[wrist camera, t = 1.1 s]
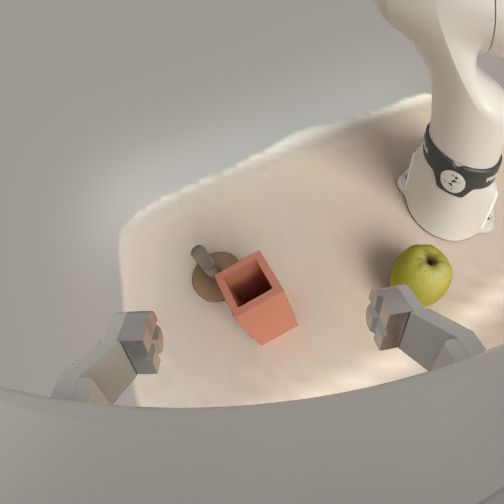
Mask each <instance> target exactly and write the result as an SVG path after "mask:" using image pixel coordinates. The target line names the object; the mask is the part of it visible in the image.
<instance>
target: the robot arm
mask: <svg viewBox="0 0 504 504" xmlns="http://www.w3.org/2000/svg"><path fill="white" fill-rule="evenodd" d="M372 1H373V3H374V5H375V7H376V8H377V10H378V11H379V13H380V14H381V15H382V17H383V18H384V19H385V20H386V21H387V22H388V23H389V24H390V25H392V26H393V27H394V28H396V29H397V30H398V31H400V32H401V33H402V34H403V35H404V36H405V37H406V38H407V39H409V40H410V42H411V43H412V44H413V45H414V46H415V48H416V49H417V50H418V52H419V53H420V55H421V56H422V58H423V60H424V62H425V64H426V66H427V69H428V71H429V75H430V79H431V85H432V108H431V118H430V122H429V124H428V125H427V128H426V131H425V134H424V139H423V140H422V141H421V143H420V147H417V148H416V149H415V152H414V153H413V155H412V158H411V163H410V167H409V168H408V169H407V170H406V171H405V172H404V173H403V174H402V175H401V176H400V177H399V178H398V181H397V186H398V188H399V189H400V191H401V192H402V193H403V194H404V196H405V198H406V202H407V206H408V209H409V211H410V213H411V215H412V216H413V218H414V219H415V221H416V222H417V223H418V224H419V225H420V226H421V227H422V228H423V229H425V230H426V231H427V232H429V233H431V234H432V235H434V236H436V237H439V238H442V239H445V240H452V241H459V240H464V239H467V238H469V237H471V236H473V235H475V234H477V233H488V232H491V230H492V228H493V225H494V203H495V201H496V198H497V195H498V192H497V185H496V179H495V178H496V175H497V174H498V172H499V169H500V165H501V161H502V151H503V148H504V90H503V89H502V87H501V86H500V85H499V84H498V83H497V82H496V81H495V80H494V79H493V78H492V77H491V76H489V75H488V74H487V73H486V72H485V71H484V70H483V69H482V68H481V67H480V66H479V65H478V64H477V63H476V60H477V55H478V54H480V53H483V54H489V55H492V56H495V57H497V58H500V59H503V60H504V0H372ZM406 179H407V180H406ZM487 219H488V220H487ZM369 300H370V301H371V303H370V304H369V306H368V307H367V310H366V321H367V325H368V328H369V330H370V331H372V332H373V333H375V335H374V340H375V342H376V345H377V347H378V349H379V351H380V350H386V349H391V348H396V347H399V349H401V350H402V351H403V352H404V353H406V354H407V355H408V356H410V357H411V358H412V359H413V360H415V361H416V362H417V363H419V364H420V365H421V366H422V367H424V368H425V369H426V370H428V372H425V373H421V374H418V375H415V376H411V377H407V378H404V379H400V380H396V381H392V382H388V383H384V384H380V385H376V386H372V387H367V388H363V389H358V390H353V391H348V392H343V393H338V394H332V395H326V396H320V397H314V398H307V399H300V400H293V401H285V402H276V403H267V404H256V405H244V406H228V407H203V408H159V407H135V406H120V405H113V403H114V402H115V401H116V400H117V399H118V397H119V396H120V395H121V394H122V392H123V391H124V390H125V389H126V388H127V387H128V386H129V384H130V383H131V382H132V381H133V380H134V379H135V377H136V376H137V374H158V370H159V365H160V358H159V356H158V355H159V354H160V353H161V352H162V349H163V335H162V331H161V328H160V327H159V326H157V325H156V322H157V317H156V315H155V312H153V311H138V312H117V313H116V314H115V315H114V318H113V320H112V323H111V325H110V327H109V330H108V332H107V335H106V338H105V340H104V341H101V342H99V343H98V344H97V345H95V346H94V347H93V348H92V349H91V350H89V351H88V352H87V353H86V354H84V355H83V356H82V357H81V358H79V359H78V360H77V361H76V362H75V363H73V364H72V365H71V366H70V367H68V368H67V369H66V370H65V371H63V372H62V373H61V374H60V376H59V379H58V381H57V383H56V386H55V388H54V391H53V393H52V396H51V397H47V396H42V395H36V394H31V393H26V392H22V391H17V390H13V389H9V388H4V387H1V386H0V504H504V344H502V345H500V346H497V347H495V348H492V349H490V350H488V351H486V349H485V348H484V346H483V345H482V343H481V342H480V341H479V339H478V338H477V336H476V335H475V333H474V332H473V331H471V330H469V329H467V328H465V327H463V326H461V325H460V324H458V323H456V322H454V321H452V320H450V319H448V318H446V317H444V316H442V315H440V314H438V313H436V312H434V311H432V310H430V309H428V308H427V309H425V308H424V307H423V305H422V304H421V302H420V301H419V300H418V298H417V297H416V296H415V294H414V293H413V291H412V290H411V289H410V287H409V286H408V285H407V284H402V285H396V286H392V287H386V288H380V289H373V290H371V292H370V295H369Z"/></svg>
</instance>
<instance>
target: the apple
mask: <svg viewBox="0 0 504 504" xmlns="http://www.w3.org/2000/svg"><path fill="white" fill-rule="evenodd" d="M451 279H452V269H451V266H450V264H449V262H448V260H447V259H446V257H445V256H444V255H443V254H442V252H440V251H439V250H438V249H437V248H435V247H434V246H432V245H413V246H411V247H409V248H408V249H407V250H405V251H404V252H403V253H402V254H401V255H400V256H399V258H398V259H397V261H396V262H395V264H394V266H393V268H392V271H391V275H390V287H392V286H396V285H402V284H407V285H408V286H409V287H410V289H411V290H412V291H413V293H414V294H415V296H416V297H417V298H418V300H419V301H420V302H421V304H422V305H423V307H427V306H429V305H432V304H433V303H435V302H436V301H438V300H439V299H440V298H441V297H442V296H443V295H444V294H445V293H446V291H447V290H448V288H449V286H450V283H451Z"/></svg>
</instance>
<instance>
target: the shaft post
mask: <svg viewBox="0 0 504 504" xmlns="http://www.w3.org/2000/svg"><path fill="white" fill-rule="evenodd" d="M191 255H192V257H193V258H194V259H195V260H196V262H197V263H198V264H197V266H196V268H195V270H194V272H193V276H192V283H193V287H194V289H195V291H196V292H197V293H198V294H199V295H200V296H201V297H202V298H203V299H205V300H207V301H211V302H219V301H223V300H225V298H224V295H223V293H222V291H221V289H220V287H219V285H218V283H217V281H216V278H215V276H214V275H216V274H218V273H219V272H221V271H223V270H225V269H226V268H228V267H230V266H232V265H234V264H235V263H237V262H239V261H238V259H237V258H236V257H235V256H233V255H232V254H230V253H226V252H216V253H212V254H210V255H209V253H208V252H207V251H206V249H205V248H204V247H203V246H202V245H198V246H195V247H194V248H193V249H192V251H191Z"/></svg>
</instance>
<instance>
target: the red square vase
mask: <svg viewBox="0 0 504 504" xmlns="http://www.w3.org/2000/svg"><path fill="white" fill-rule="evenodd" d="M214 276H215V278H216V281H217V283H218V285H219V287H220V289H221V291H222V293H223V295H224V298H225V300H226V302H227V304H228V306H229V308H230V310H231V312H232V314H233V316H234V318H235V319H236V320H237V321H238V322H239V323H240V324H241V325H242V326H243V327H244V328H245V329H246V330H247V331H248V332H249V333H250V334H251V335H252V336H253V337H254V338H255V339H256V340H257V341H258V342H259V343H260V344H261V345H263V344H265V343H267V342H269V341H271V340H272V339H274V338H276V337H278V336H280V335H281V334H283V333H285V332H287V331H289V330H290V329H292V328H294V327H296V326H297V325H298V324H297V321H296V319H295V317H294V314H293V312H292V309H291V307H290V305H289V302H288V300H287V297H286V295H285V293H284V290H283V289H282V287H281V285H280V284H279V282H278V280H277V279H276V277H275V275H274V274H273V272H272V271H271V269H270V267H269V266H268V264H267V262H266V261H265V259H264V257H263V256H262V254H261V252H260V251H257V252H255V253H253V254H251V255H250V256H248V257H246V258H244V259H242V260H241V261H239V262H237V263H235V264H234V265H232V266H230V267H228V268H226V269H225V270H223V271H221V272H219V273H218V274H216V275H214Z"/></svg>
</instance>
